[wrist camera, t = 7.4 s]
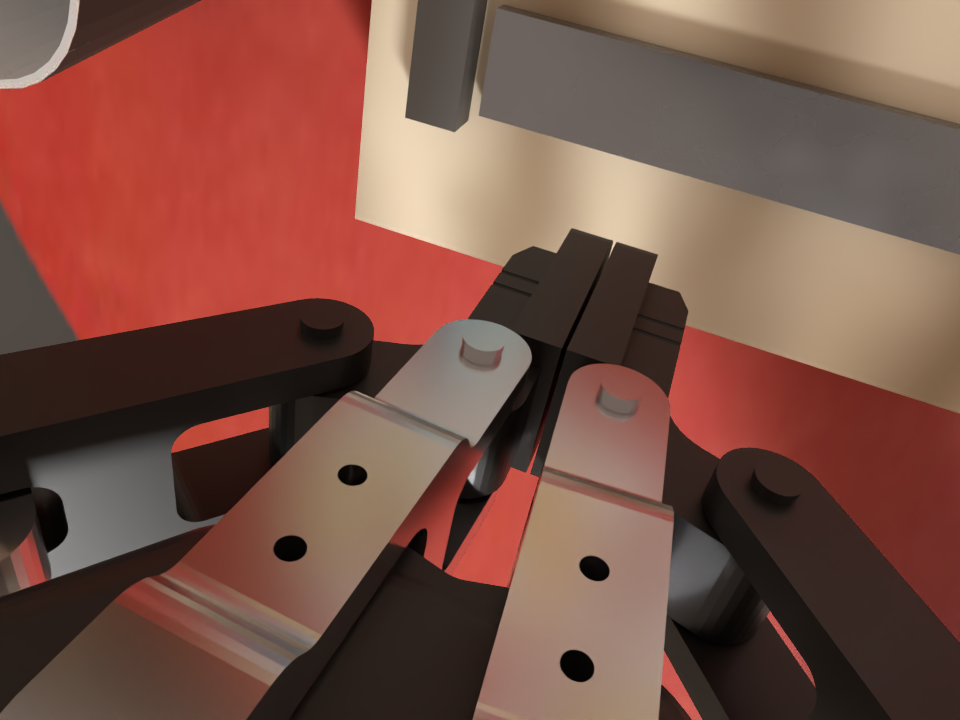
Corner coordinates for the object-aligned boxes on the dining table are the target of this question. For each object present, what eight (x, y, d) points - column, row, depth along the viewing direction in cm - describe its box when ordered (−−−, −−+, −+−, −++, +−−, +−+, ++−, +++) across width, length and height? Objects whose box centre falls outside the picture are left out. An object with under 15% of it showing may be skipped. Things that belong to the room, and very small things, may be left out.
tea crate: (1333, -50, 20) (1570, -1, 14) (1036, 349, 28) (1103, 494, 22) (470, -231, 24) (358, -256, 18) (420, 162, 32) (330, 239, 26)
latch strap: (1118, 165, 19) (1126, 173, 18) (1044, 270, 21) (1050, 281, 20) (503, 4, 22) (496, 8, 21) (484, 110, 23) (478, 115, 23)
